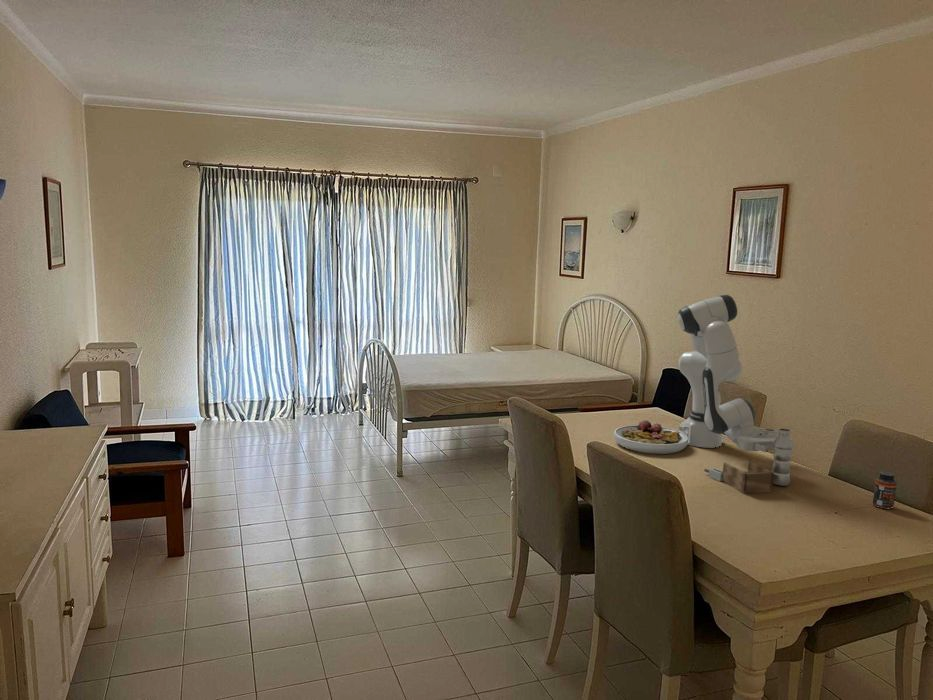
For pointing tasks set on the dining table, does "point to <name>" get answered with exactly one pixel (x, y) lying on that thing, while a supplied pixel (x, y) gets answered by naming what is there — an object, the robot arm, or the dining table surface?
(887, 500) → the supplement bottle
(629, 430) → the bowl
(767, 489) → the end cradle
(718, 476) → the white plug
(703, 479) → the dining table surface
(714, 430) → the robot arm
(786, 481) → the plastic bottle
